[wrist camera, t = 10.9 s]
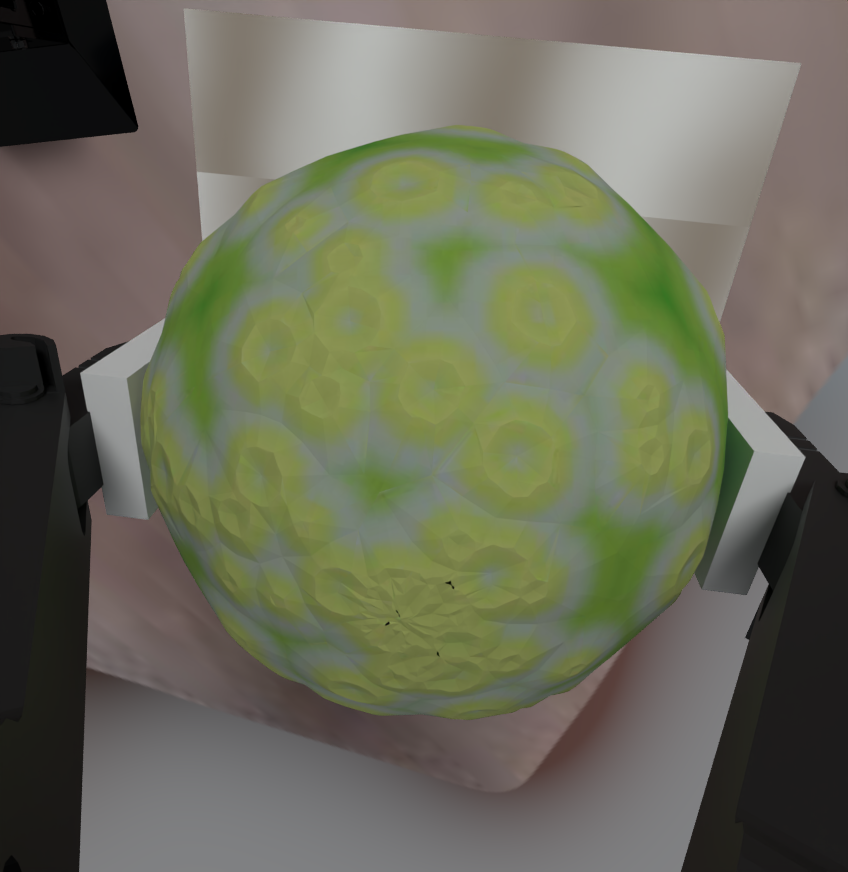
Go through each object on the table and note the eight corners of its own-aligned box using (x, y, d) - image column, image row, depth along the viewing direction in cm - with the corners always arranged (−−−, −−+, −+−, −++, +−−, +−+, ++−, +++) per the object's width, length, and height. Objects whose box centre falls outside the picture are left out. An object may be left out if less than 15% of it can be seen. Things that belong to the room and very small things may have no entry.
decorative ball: (185, 263, 16) (-204, 462, 7) (549, 22, 13) (677, -167, 4) (389, 547, 19) (302, 915, 11) (712, 412, 16) (972, 773, 7)
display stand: (291, 408, 28) (224, 508, 21) (284, 41, 22) (183, 8, 14) (604, 444, 27) (644, 561, 20) (696, 78, 21) (801, 62, 14)
